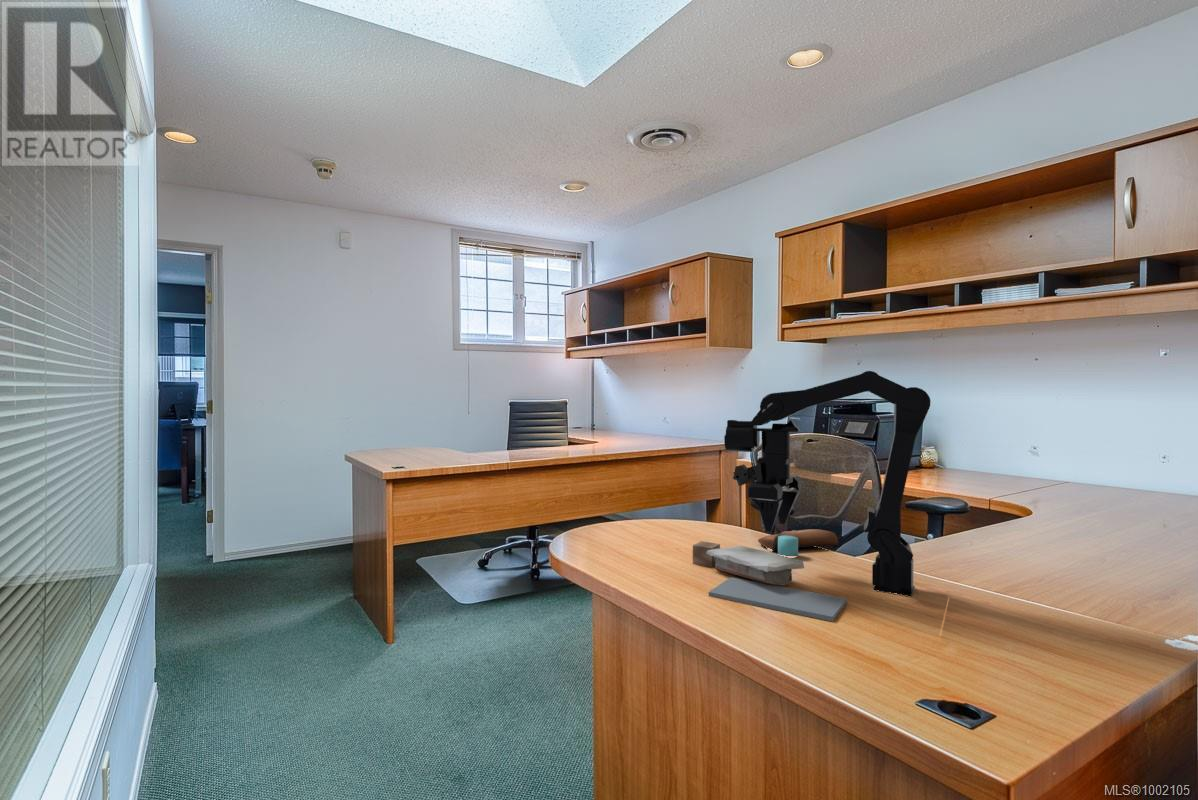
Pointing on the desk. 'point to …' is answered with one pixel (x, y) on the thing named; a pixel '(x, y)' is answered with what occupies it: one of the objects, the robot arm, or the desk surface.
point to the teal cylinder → (788, 545)
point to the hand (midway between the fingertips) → (775, 527)
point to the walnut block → (704, 553)
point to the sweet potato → (802, 538)
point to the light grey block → (755, 564)
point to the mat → (780, 598)
